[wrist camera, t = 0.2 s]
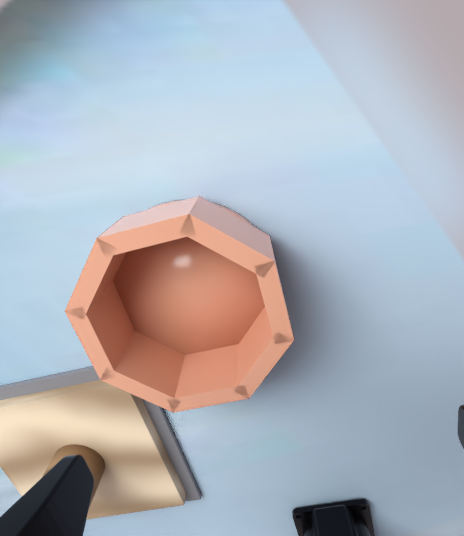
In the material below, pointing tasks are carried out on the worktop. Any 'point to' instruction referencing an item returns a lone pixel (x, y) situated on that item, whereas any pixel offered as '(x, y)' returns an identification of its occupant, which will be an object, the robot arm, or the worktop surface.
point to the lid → (90, 446)
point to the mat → (153, 410)
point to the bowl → (182, 305)
